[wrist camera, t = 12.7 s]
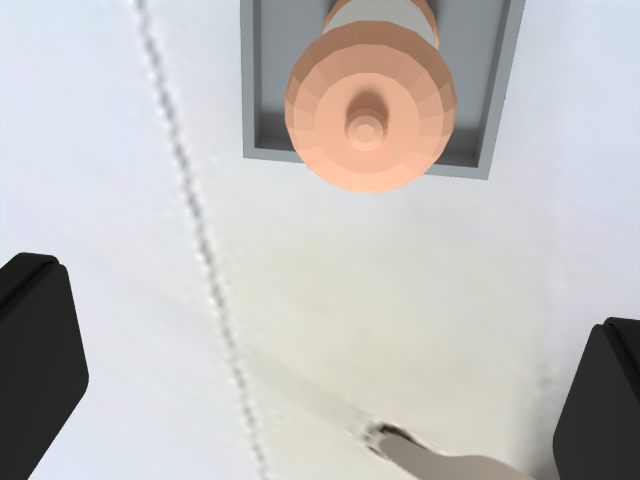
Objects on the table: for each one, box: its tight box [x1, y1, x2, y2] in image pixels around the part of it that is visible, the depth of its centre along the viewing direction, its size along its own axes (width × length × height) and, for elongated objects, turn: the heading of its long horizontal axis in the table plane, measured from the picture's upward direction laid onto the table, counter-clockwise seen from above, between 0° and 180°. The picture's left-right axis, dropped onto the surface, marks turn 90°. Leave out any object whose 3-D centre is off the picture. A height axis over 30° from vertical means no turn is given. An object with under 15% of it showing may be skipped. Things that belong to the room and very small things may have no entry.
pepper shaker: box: [284, 0, 457, 193], centre depth 29 cm, size 7×7×19 cm
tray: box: [240, 0, 525, 180], centre depth 37 cm, size 17×17×3 cm
